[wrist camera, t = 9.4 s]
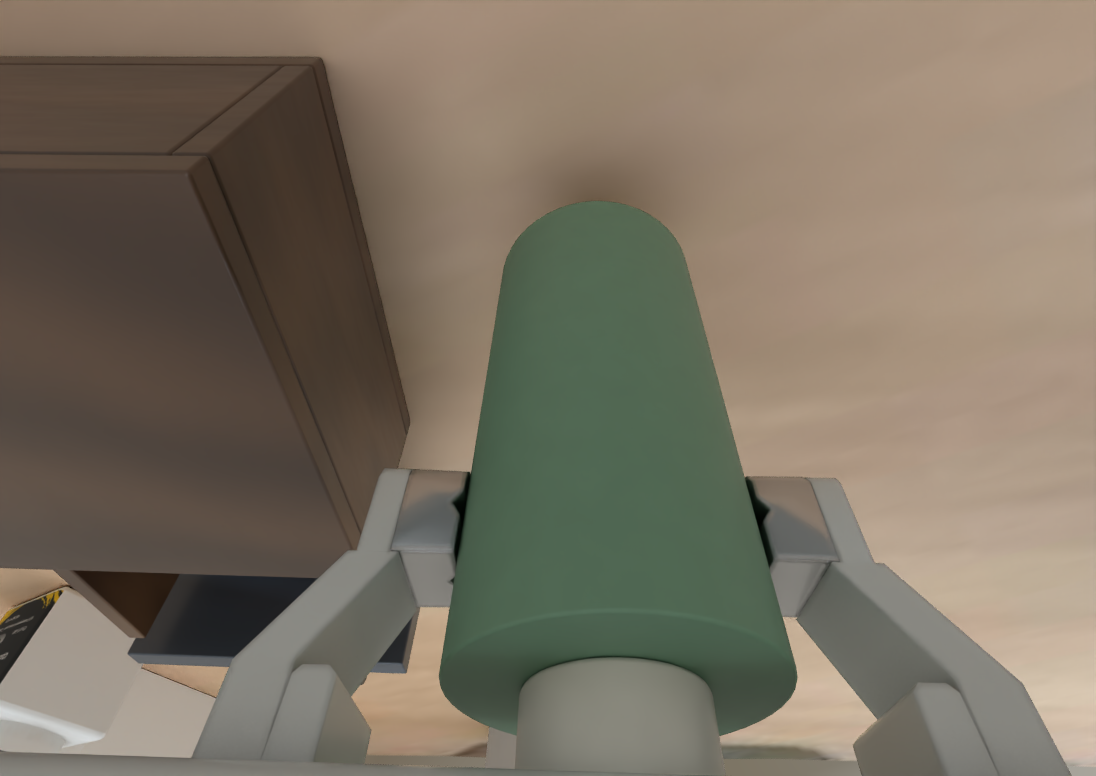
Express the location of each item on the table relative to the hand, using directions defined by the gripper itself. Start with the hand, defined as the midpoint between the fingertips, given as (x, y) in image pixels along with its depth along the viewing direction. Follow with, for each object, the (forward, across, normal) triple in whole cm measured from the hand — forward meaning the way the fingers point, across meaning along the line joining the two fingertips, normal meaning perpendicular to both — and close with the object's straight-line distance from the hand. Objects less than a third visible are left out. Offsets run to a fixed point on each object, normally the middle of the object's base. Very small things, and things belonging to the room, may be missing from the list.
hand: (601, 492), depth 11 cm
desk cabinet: (+11, +15, +3) cm, 19 cm away
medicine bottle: (+12, +34, +31) cm, 47 cm away
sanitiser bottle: (+7, 0, 0) cm, 7 cm away
